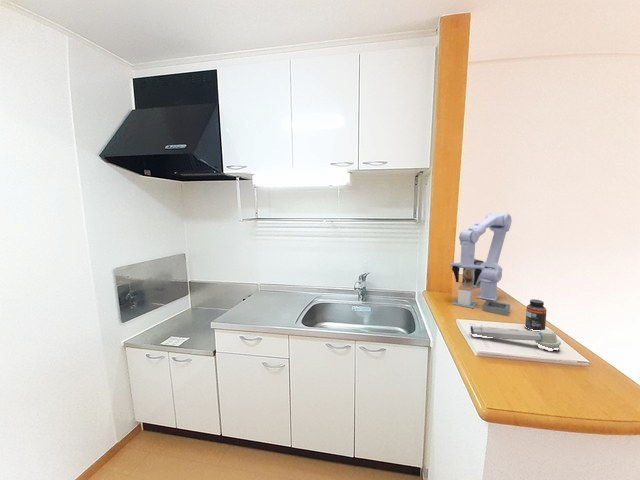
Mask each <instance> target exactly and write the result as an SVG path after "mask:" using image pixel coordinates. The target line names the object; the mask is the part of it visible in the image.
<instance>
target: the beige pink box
mask: <svg viewBox="0 0 640 480" xmlns="http://www.w3.org/2000/svg"><path fill="white" fill-rule="evenodd" d="M472 297H473V288H472V287H469V286H466V285H463V284H460V286H459V287H458V293H457V299H458V304H463V305H468V306H470V304H471V302H473V301H472Z"/></svg>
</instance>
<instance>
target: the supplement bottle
mask: <svg viewBox="0 0 640 480" xmlns="http://www.w3.org/2000/svg"><path fill="white" fill-rule="evenodd" d="M544 304H545V302H544V301H543V300H540V299H535V298H534V299H533V298H532V299H530V300H529V304H528V305H526V309H525V310H526V312H525V323H524V324H525V326H526V327H527V328H529V329H533V330H546V324H547V323H546V322H547V308H546V307H544ZM525 326H524V327H525ZM526 327H525V328H526ZM527 328H526V329H527Z"/></svg>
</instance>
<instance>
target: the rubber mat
mask: <svg viewBox="0 0 640 480" xmlns="http://www.w3.org/2000/svg"><path fill="white" fill-rule="evenodd" d="M451 304H452V305H453V306H458V307H463V308H468V309H474V308H475V307H476V306H477V304H478V302H475V301H472V302H471V304H470V306H468V305H463V304H458V298H456V299H455V300H454V301H453V302H452V303H451Z"/></svg>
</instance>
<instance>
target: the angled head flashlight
mask: <svg viewBox="0 0 640 480" xmlns="http://www.w3.org/2000/svg"><path fill="white" fill-rule="evenodd" d="M470 333H472V334H477V335H482V336H487V337H493V338H502V339H501V340H512V341H513V340H514V341H515V340H517V341H534V342H536V344H537V343H538V344H540V345H542V346H545V347H548V348H552V349H554V348H559V349H560V346H561V344H562V342H561V341H560V340H559V339H557V334H556V332H554V331H553V330H550V329H545V330H540V331H531V330H528V329H518V328H517V329H516V328H505V327H504V328H503V327H493V326H483V325H482V324H481V325H477V326H476V325H470Z"/></svg>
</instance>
